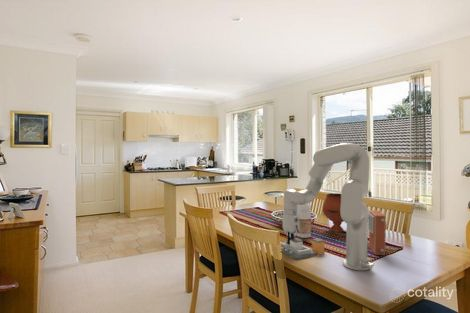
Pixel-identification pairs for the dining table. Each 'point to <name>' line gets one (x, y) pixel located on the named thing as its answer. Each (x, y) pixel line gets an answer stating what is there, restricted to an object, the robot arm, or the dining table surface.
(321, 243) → the orange short cylinder
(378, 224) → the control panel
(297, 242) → the breaker handle
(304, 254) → the breaker panel
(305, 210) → the fruit juice
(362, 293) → the dining table surface
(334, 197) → the goblet
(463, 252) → the dining table surface
